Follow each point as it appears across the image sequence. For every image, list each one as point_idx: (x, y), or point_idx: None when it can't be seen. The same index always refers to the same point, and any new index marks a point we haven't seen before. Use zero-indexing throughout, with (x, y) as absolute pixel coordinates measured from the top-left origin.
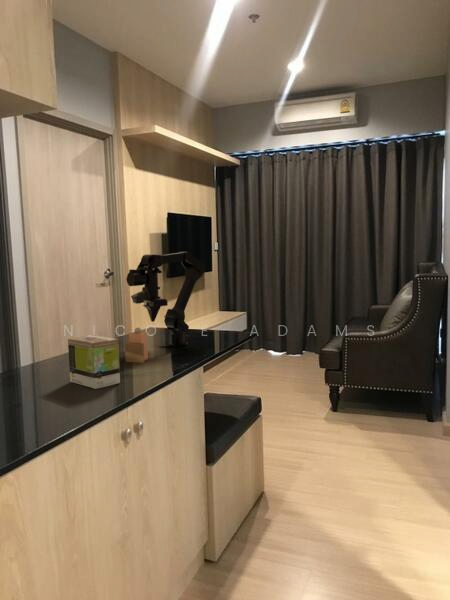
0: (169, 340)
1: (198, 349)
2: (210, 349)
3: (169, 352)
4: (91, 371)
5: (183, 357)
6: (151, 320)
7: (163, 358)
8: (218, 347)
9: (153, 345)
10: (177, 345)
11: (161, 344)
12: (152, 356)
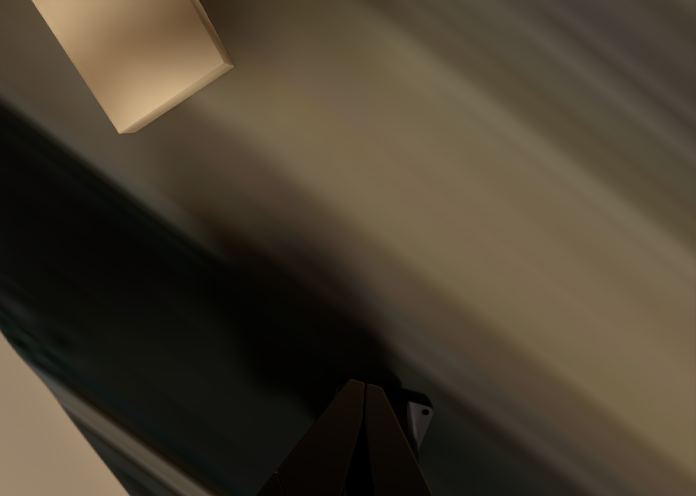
0: (407, 412)
1: (172, 389)
2: (130, 417)
3: (216, 244)
4: None
5: (32, 201)
6: (360, 390)
7: (76, 94)
8: (147, 465)
9: (504, 331)
10: (335, 393)
11: (478, 379)
12: None
